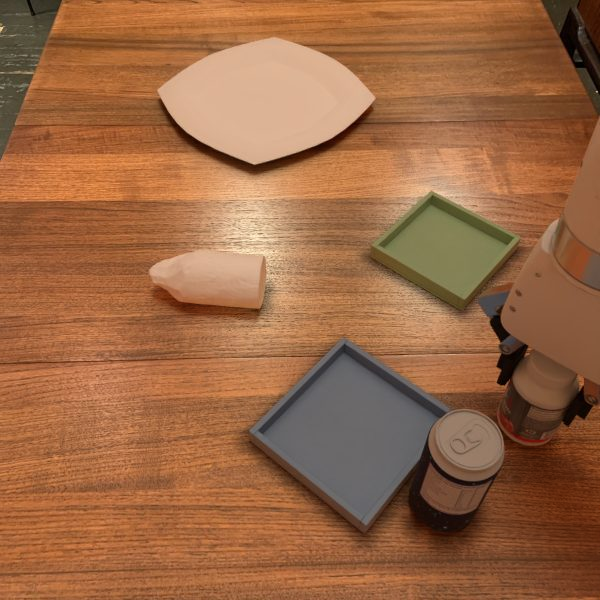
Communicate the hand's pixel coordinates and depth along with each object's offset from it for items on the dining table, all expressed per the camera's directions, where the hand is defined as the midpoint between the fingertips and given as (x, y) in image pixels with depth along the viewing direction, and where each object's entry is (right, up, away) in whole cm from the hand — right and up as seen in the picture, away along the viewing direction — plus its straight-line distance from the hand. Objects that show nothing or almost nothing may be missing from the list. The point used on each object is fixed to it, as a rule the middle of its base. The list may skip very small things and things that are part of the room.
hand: (539, 392), depth 56 cm
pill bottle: (0, -3, +4) cm, 5 cm away
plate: (-26, +36, +37) cm, 58 cm away
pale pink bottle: (-31, +9, +15) cm, 35 cm away
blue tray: (-16, -4, +4) cm, 17 cm away
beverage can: (-9, -10, 0) cm, 13 cm away
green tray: (-4, +13, +19) cm, 24 cm away
